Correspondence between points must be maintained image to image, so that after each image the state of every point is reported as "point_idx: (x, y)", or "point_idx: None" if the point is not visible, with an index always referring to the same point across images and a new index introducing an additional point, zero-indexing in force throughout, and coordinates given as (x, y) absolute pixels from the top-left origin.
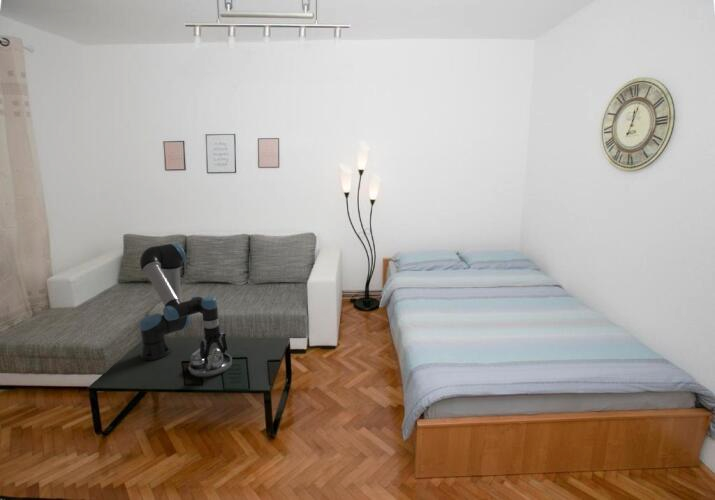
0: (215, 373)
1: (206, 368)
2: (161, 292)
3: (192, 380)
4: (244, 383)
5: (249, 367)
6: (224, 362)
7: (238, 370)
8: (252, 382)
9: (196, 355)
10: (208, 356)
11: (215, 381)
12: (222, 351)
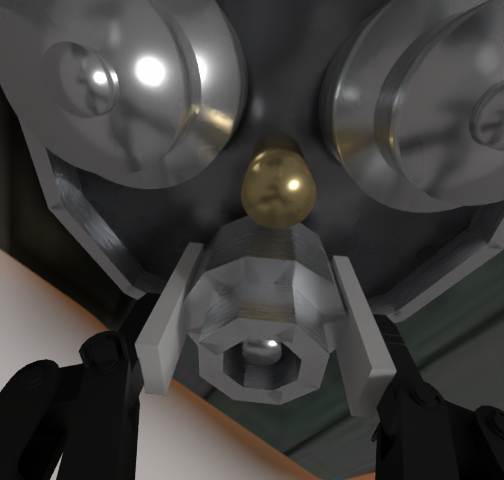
0: None
1: (202, 202)
2: None
3: (69, 237)
4: (288, 435)
5: (434, 369)
6: (385, 233)
7: None
8: (316, 448)
9: (41, 20)
10: (253, 189)
11: (193, 346)
12: (381, 445)
